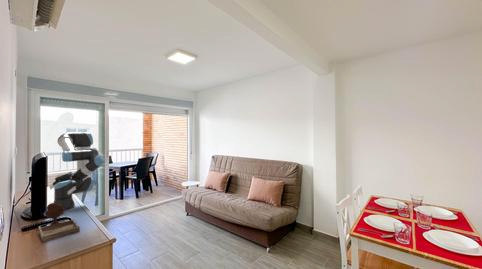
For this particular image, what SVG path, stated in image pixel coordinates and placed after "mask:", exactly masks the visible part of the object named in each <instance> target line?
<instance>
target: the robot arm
mask: <svg viewBox="0 0 482 269" xmlns="http://www.w3.org/2000/svg"><path fill="white" fill-rule="evenodd" d="M93 144H94V138H93V135H92V133H91V132H87V131H86V132H85V131H84V132H83V131H76V132H75V131H74V132H72V131H69V132H65V133H62V134H61V135H60V136H59V137H58V138H57V145H58V146H59V147H61V150H62V153H61V158H62V159H61V160H62V161H63V162H68V163H69V162H76V171H75V172H74V173H72V171H70V172H68V173H65V174H63V175H60V176H56V177H55V178H54V182H52V183H51V185H50V186H49V190H52V189H53V190H54V191H53V192H54V196H53V197H54V198H53V199H54V200H53V202H52V203H56V204H61V205H62V206H63V208H65V211H66V210H70V209H72V208H75V206H76V204H75V201H74V199H73V195H76V194H82V193H87V192H90V191H92V190H93V188H94V178H93V177H92V176H91V174H92V173H93V172H95V171H96V170H97V169H99V168H101V167H102V166H103V165H104V164H105V163H106V159H105V157H104V156H103V155H101V154H100V153H99V151H98V148H96V147H92V145H93Z"/></svg>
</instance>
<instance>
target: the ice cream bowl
mask: <svg viewBox="0 0 482 269" xmlns="http://www.w3.org/2000/svg"><path fill="white" fill-rule="evenodd" d="M65 211H66V210H65V208H63V206H62V205H61V204H56V203H53V202H50V203H49V204H48V205H46V211H44V216H45V217H46V218H48V219H50V220H51V219H52V222H50V224H51V225H53V224H57V223H59V222H60V221H57V218H60V217H61V216H62V215H64V213H65Z"/></svg>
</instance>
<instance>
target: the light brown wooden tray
mask: <svg viewBox="0 0 482 269" xmlns="http://www.w3.org/2000/svg"><path fill="white" fill-rule="evenodd" d="M80 229H81V228H80V226H79V225H78V223H77V222H76V221H75V219H70V220H65V221H62V222H60V223H57V224H53V225H50V224H49V225H46V226H42V227H39V228H38V234H39V236H40V240H41V242H42V243H44V242H48V241H51V240H55V239H59V238H62V237H65V236H69V235H72V234H76V233H80Z"/></svg>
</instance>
